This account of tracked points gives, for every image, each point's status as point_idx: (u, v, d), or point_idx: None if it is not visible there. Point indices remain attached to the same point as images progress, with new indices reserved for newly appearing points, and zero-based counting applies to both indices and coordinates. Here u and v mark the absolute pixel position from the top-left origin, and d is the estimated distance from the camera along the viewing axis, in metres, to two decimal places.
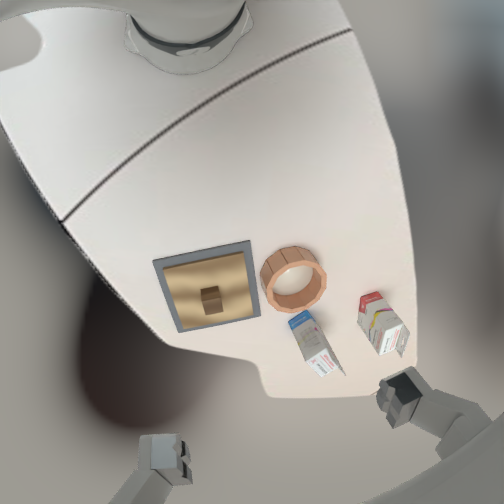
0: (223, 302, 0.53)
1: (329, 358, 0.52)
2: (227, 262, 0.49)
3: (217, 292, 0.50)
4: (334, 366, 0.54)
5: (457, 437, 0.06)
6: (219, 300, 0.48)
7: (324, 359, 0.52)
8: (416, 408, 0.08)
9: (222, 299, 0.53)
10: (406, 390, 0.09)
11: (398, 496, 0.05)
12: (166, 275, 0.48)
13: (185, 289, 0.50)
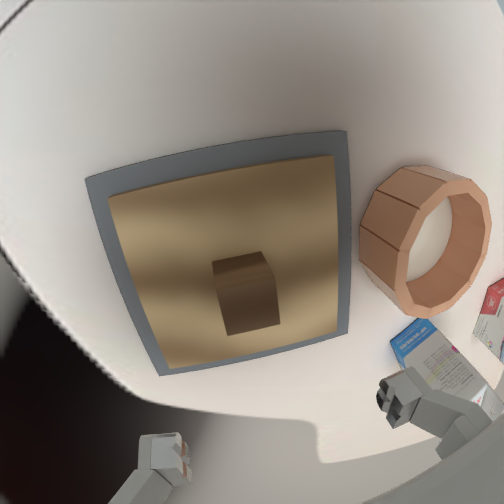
0: None
1: (479, 402, 0.18)
2: (291, 180, 0.17)
3: (263, 265, 0.17)
4: None
5: (457, 437, 0.06)
6: (272, 287, 0.16)
7: None
8: (416, 408, 0.08)
9: None
10: (406, 390, 0.09)
11: (398, 496, 0.05)
12: (118, 216, 0.16)
13: (168, 263, 0.18)
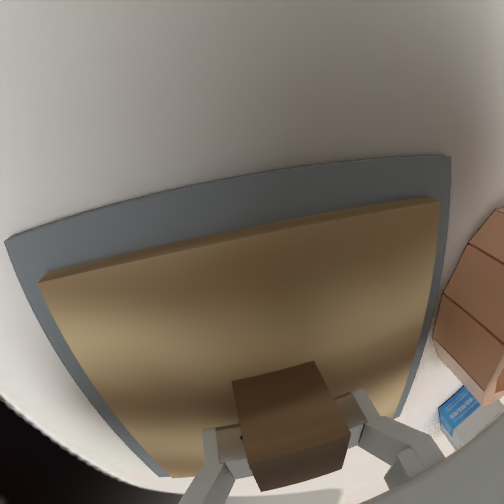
0: None
1: None
2: (378, 246, 0.09)
3: (325, 401, 0.09)
4: None
5: (401, 471, 0.06)
6: (342, 443, 0.07)
7: None
8: (362, 433, 0.08)
9: None
10: (349, 414, 0.08)
11: (398, 496, 0.05)
12: (60, 314, 0.08)
13: (158, 384, 0.10)
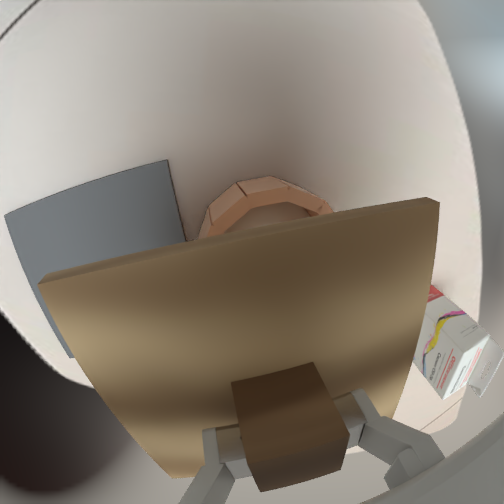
0: None
1: None
2: (377, 248, 0.09)
3: (324, 402, 0.09)
4: None
5: (401, 471, 0.06)
6: (341, 444, 0.07)
7: None
8: (362, 433, 0.08)
9: None
10: (349, 414, 0.08)
11: (398, 496, 0.05)
12: (60, 315, 0.08)
13: (158, 385, 0.10)
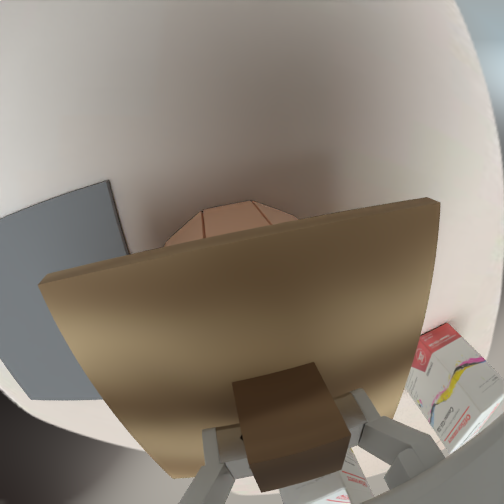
0: None
1: None
2: (378, 248, 0.09)
3: (325, 402, 0.09)
4: None
5: (401, 471, 0.06)
6: (342, 444, 0.07)
7: (336, 500, 0.14)
8: (362, 433, 0.08)
9: None
10: (350, 414, 0.08)
11: (398, 496, 0.05)
12: (61, 316, 0.08)
13: (159, 385, 0.10)
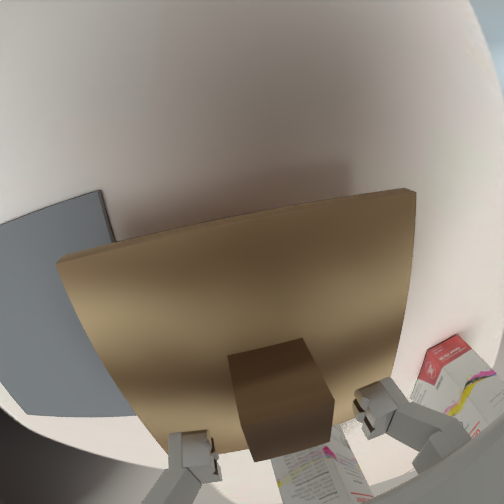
0: None
1: None
2: (357, 232, 0.10)
3: (311, 371, 0.10)
4: None
5: (432, 453, 0.06)
6: (328, 411, 0.09)
7: None
8: (392, 420, 0.08)
9: None
10: (380, 402, 0.09)
11: (398, 496, 0.05)
12: (75, 292, 0.09)
13: (161, 358, 0.11)
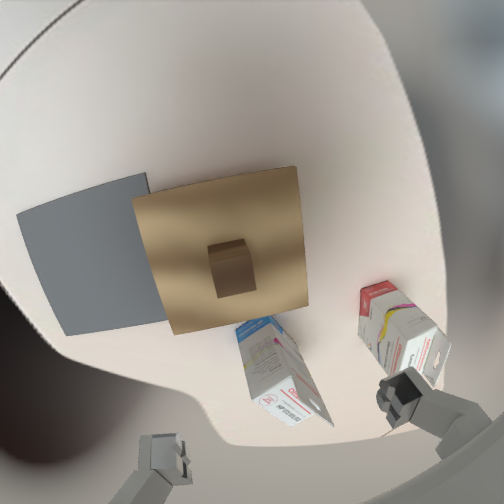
0: None
1: None
2: (264, 185, 0.24)
3: (243, 247, 0.23)
4: None
5: (457, 437, 0.06)
6: (249, 261, 0.22)
7: (290, 397, 0.26)
8: (416, 408, 0.08)
9: None
10: (406, 390, 0.09)
11: (398, 496, 0.05)
12: (139, 212, 0.23)
13: (175, 247, 0.24)
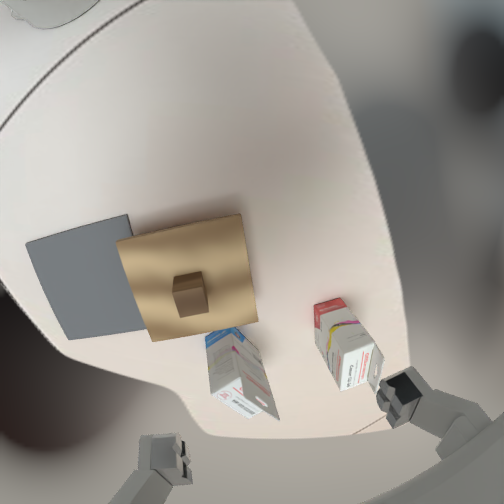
0: (210, 300, 0.34)
1: None
2: (215, 231, 0.31)
3: (199, 279, 0.30)
4: (264, 405, 0.35)
5: (457, 437, 0.06)
6: (201, 291, 0.29)
7: (242, 394, 0.33)
8: (416, 408, 0.08)
9: (209, 295, 0.34)
10: (406, 390, 0.09)
11: (398, 496, 0.05)
12: (121, 252, 0.30)
13: (150, 277, 0.31)
